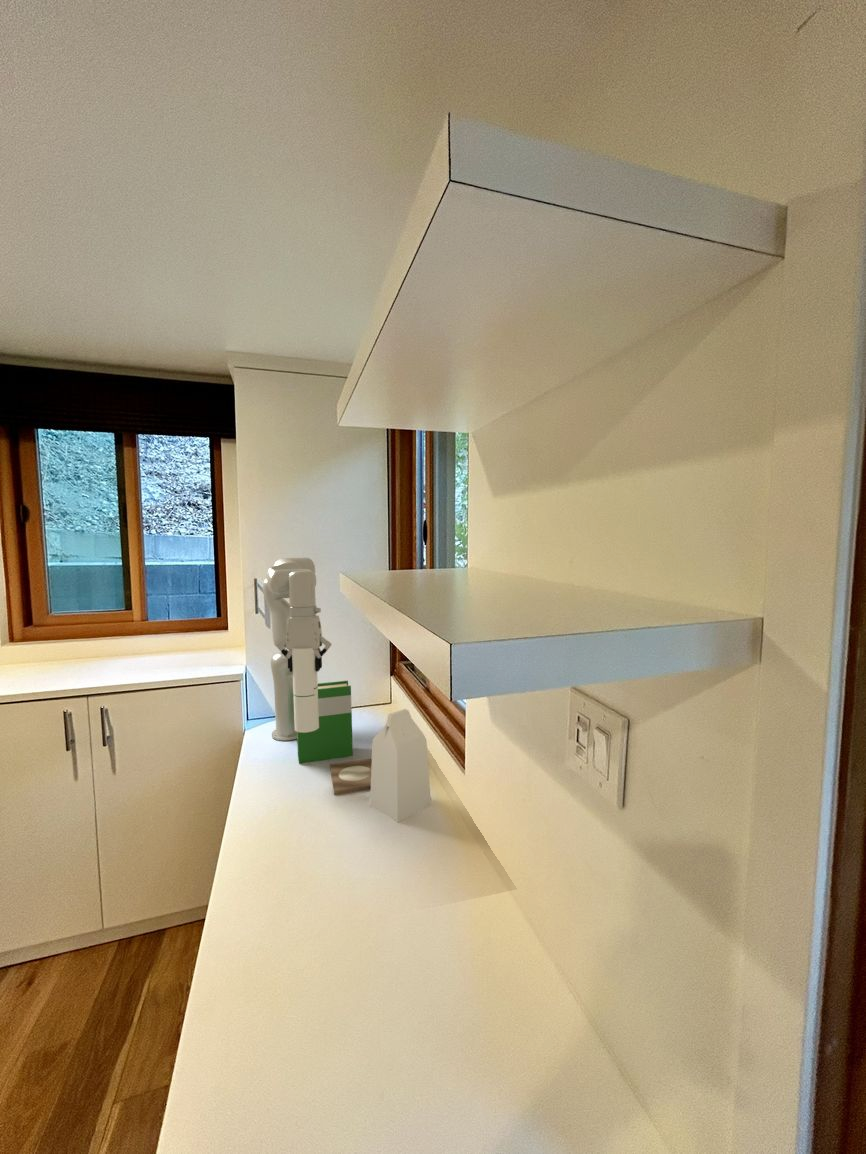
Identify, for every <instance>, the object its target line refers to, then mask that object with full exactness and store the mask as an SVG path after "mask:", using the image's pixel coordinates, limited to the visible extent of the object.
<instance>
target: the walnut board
mask: <svg viewBox="0 0 866 1154" xmlns="http://www.w3.org/2000/svg"><path fill="white" fill-rule="evenodd" d="M371 765H372V758H365V759H357V760H351V761H344V762H343V761H342V762H336V763H330V764H329V768H330V775H331V782H332V788H333V794H334V796H336V795H337V796H338V795H343V794H348V793H349V794H350V793H351V794H352V793H357V792H365V791H371Z"/></svg>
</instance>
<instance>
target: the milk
mask: <svg viewBox="0 0 866 1154" xmlns="http://www.w3.org/2000/svg"><path fill="white" fill-rule="evenodd" d="M416 723H417V722H415V721H414V719H413V717H412V716H411V714H410V711H409V709H407V708H404V709H400V710H397V711H394V712H391V713H388V715H387V719H386V722H385V725H384V727H383V728H382V729H381V730H380V731H379V732H377V733H376V734H375V736H374V737H373V739H372V742H371V743H372V745H371V759H372V765H371V790H370V795H369V796H370V800H369V805H370V807H371V808H373V809H375V810H376V811H378V812H380V814H382V815H385V817H387V818H390V820H393V821H394V822H396V823H399V822H401V821H402V820H405V819H407V818H408V817H410V816H412V815H414V814H416V813H418V812H420V811H422V810H423V809H425V808H428V807H429V806H431V805H432V802H431V801H432V800H431V786H430V771H429V770H430V769H429V757H428V756H429V754H428V742H427V738H426V735H425V734H424V733H423V731H422V730H421V729H420V727H419V726H418V725H417V724H416Z"/></svg>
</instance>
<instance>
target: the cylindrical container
mask: <svg viewBox="0 0 866 1154" xmlns="http://www.w3.org/2000/svg"><path fill="white" fill-rule="evenodd" d="M315 659H316V654H315V653H314V650H313V649H312V648H292V667H293V694H294V722H295V731H297V732H301V733H306V732H312V731H315V730H317V729H318V728H319V711H318V683H319V682H318V681H319V680H318V672H316V665H315Z"/></svg>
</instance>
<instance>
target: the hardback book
mask: <svg viewBox="0 0 866 1154" xmlns="http://www.w3.org/2000/svg"><path fill="white" fill-rule="evenodd" d="M352 707H353V706H352V685H349V680H341V681H329V682H320V683H319V682H318V711H319V728H318V729H317V730H315V731H312V732H306V733H301V732H297V739H296V741H297V746H296V747H297V758H298V759H297V760H298V765H302V764H307V763H314V762H322V761H327V760H328V761H329V760H335V759H341V758H349V757H353V756H354V748H353V747H354V745H353V719H352V718H353V716H352V715H353V712H352V711H353V710H352Z"/></svg>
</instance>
